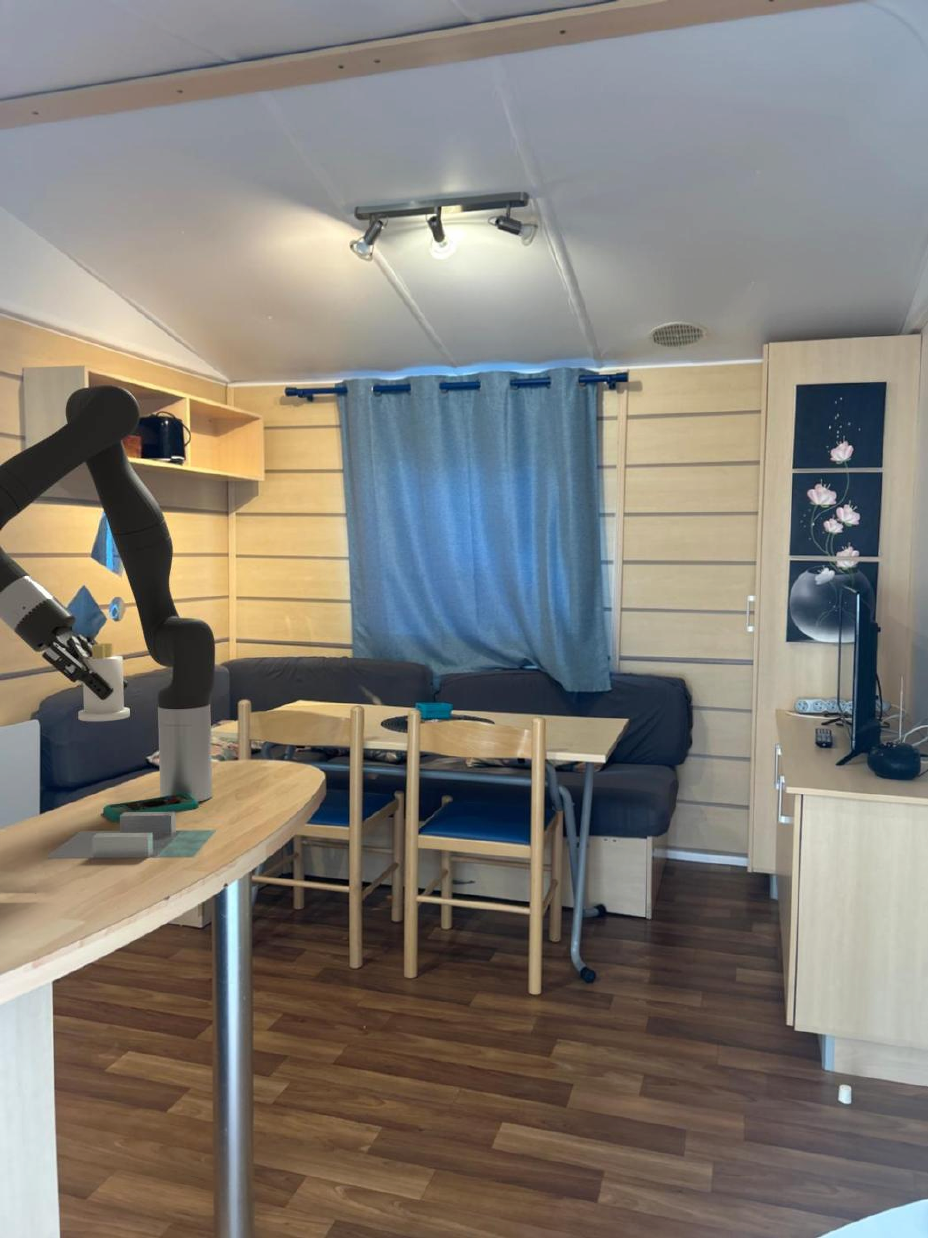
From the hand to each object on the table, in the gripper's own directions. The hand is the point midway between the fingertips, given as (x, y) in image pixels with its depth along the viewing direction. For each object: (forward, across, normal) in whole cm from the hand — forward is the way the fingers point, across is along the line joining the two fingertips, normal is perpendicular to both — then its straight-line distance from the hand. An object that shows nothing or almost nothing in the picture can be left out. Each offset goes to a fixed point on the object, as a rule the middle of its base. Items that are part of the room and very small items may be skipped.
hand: (116, 692), depth 138 cm
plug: (+1, 0, +4) cm, 4 cm away
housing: (+19, 0, +15) cm, 24 cm away
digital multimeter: (+17, +18, +18) cm, 31 cm away
